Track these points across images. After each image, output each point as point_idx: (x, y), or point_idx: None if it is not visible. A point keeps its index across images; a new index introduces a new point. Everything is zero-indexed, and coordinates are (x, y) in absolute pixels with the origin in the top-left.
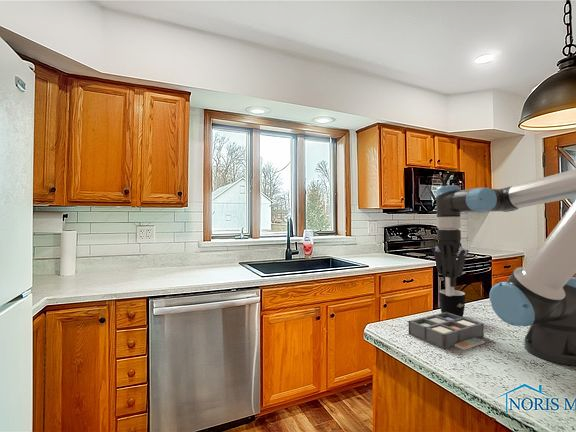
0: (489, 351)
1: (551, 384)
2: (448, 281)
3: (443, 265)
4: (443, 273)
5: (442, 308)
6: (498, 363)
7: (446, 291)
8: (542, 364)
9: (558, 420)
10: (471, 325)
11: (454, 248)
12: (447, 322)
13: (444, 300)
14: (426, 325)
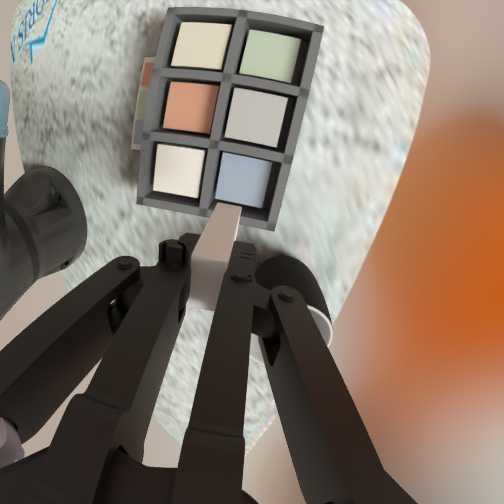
0: (107, 107)
1: (24, 80)
2: (205, 240)
3: (234, 343)
4: (245, 286)
5: (305, 271)
6: (80, 67)
7: (234, 214)
8: (42, 142)
9: (20, 9)
10: (155, 165)
11: (9, 496)
12: (214, 116)
13: (298, 285)
14: (271, 62)
